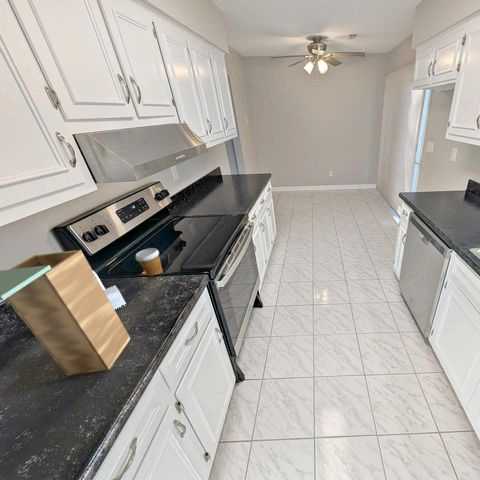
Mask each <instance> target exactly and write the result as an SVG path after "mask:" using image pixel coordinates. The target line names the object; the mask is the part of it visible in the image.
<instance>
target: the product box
mask: <svg viewBox="0 0 480 480" xmlns="http://www.w3.org/2000/svg"><path fill="white" fill-rule="evenodd" d="M104 292H105V294H106V295H107V297H108V299H109V301H110V303H111V304H112V306H113V308H114V310H115V309H116V310H118V309H120V308H122V307H123V306H122V305H124V306H126V305H127V302H126V301H125V298H124V297H123V296H122V295H123V294H121V292H120V289H118V287H117V286H116V285H112V286H110V287H108V288H105V290H104ZM125 304H126V305H125ZM121 306H122V307H121ZM119 307H120V308H119ZM117 308H118V309H117ZM116 310H115V311H116Z"/></svg>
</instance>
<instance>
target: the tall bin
mask: <svg viewBox="0 0 480 480" xmlns="http://www.w3.org/2000/svg"><path fill="white" fill-rule="evenodd" d="M46 265H50V267H51V269H50V270H48V271H47V272H45V273H44V274H42V275H41V276H39V277H38V278H36V279H35V280H33V281H32V282H30V283H29V284H27V285H26V286H24V287H23V288H21V289H20V290H18V291H17V292H15V293H14V294H12V295H11V296H9V297H8V298H6V299H5V300H6V301H7V302H8V304H9V305H10V306H11V307H12V309H13V310H14V311H15V312H16V314H17V315H18V316H19V317H20V319H21V320H22V321H23V323H24V324H25V325H26V326H27V328H28V329H29V330H30V332H32V334H33V335H34V336H35V338H36V339H37V340H38V341H39V343H40V344H41V345H42V346H43V348H44V350H46V352H47V353H48V354H49V355H50V357H51V358H52V359H53V360H54V361H55V363H56V365H58V367H59V368H60V369H61V371H62V372H63V373H64V374H65V375H66V376H67V377H68V376H75V375H82V374H88V373H95V372H103V371H110V370H111V368H112V366H113V365H114V363H116V361H117V359H118V358H119V357H120V355H121V353H122V352H123V351H124V349H125V348H126V346H127V345H128V343H129V342H130V340H131V337H130V334H129V333H128V331H127V329H126V327H125V326H124V324H123V322H122V320H121V319H120V317H119V315H118V313H117V311H116V310H114V308H113V306H112V304H111V303H110V301H109V299H108V297H107V295H106V294H105V292H104V290H103V288H102V287H101V285H100V283H99V281H98V279H97V278H96V276H95V274H94V272H95V271H94V270H93V269H92V267H91V265H90V263H89V261H88V260H87V258H86V256H85V254H84V253H83V251H82V249H79V250H77V249H76V250H68V251H59V252H50V253H41V254H34V255H33V256H31V257H29V258H27V259H25V260H24V261H22V262H20V263H18V264H16V265H15V266H13V267H11V268H10V269H9V268H8V270H11V269H20V268H29V267H37V266H46ZM92 270H93V271H94V272H93V271H92Z"/></svg>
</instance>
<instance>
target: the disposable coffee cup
mask: <svg viewBox="0 0 480 480" xmlns="http://www.w3.org/2000/svg"><path fill="white" fill-rule="evenodd" d="M135 260H136V261H137V262H138V263H139V265H140V266H141V268H142V269H143V271H144V273H145V274H146V275H147V277H148V276H153V275H157V274H160V273H162V274H163V267H162V262H161V259H160V251H159V250H158V249H157V248H155V247H148V248H145V249H142V250H140V251H137V253H135ZM160 275H161V274H160Z"/></svg>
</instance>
